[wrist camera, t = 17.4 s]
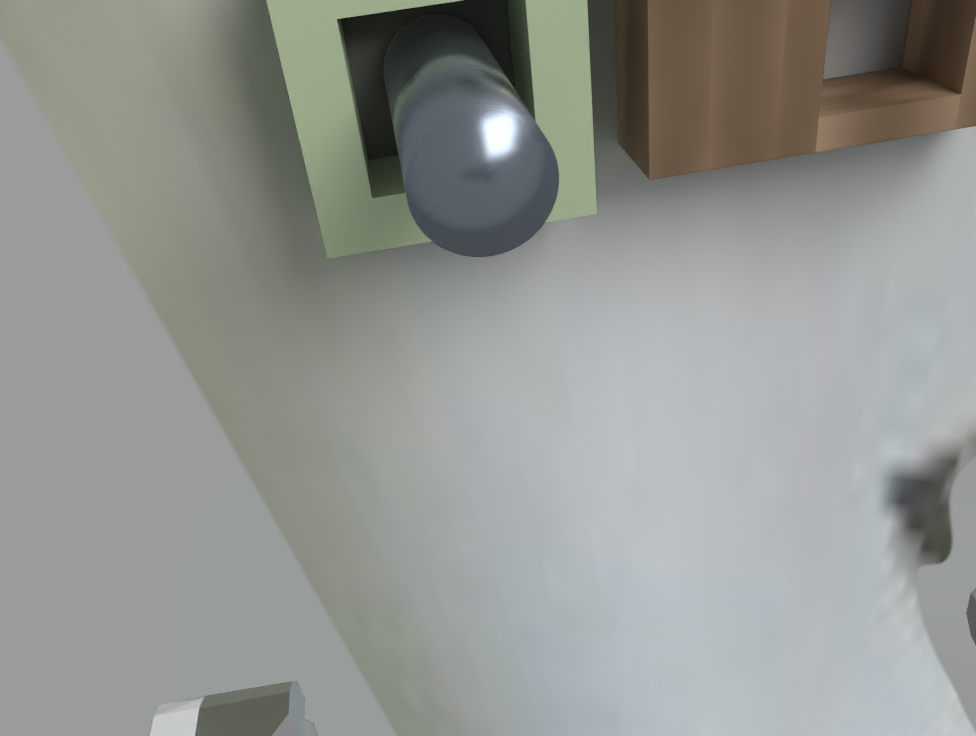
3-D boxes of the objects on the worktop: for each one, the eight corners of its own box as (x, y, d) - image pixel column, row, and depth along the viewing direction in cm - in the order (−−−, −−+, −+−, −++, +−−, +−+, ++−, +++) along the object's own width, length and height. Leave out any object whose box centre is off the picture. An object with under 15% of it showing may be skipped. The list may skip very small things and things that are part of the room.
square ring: (555, -100, 30) (583, -89, 27) (572, 175, 36) (597, 214, 32) (264, -59, 29) (256, -41, 26) (328, 215, 35) (327, 259, 32)
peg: (484, 5, 32) (553, 96, 22) (495, 114, 34) (564, 243, 24) (374, 21, 31) (393, 121, 21) (393, 130, 34) (418, 268, 24)
